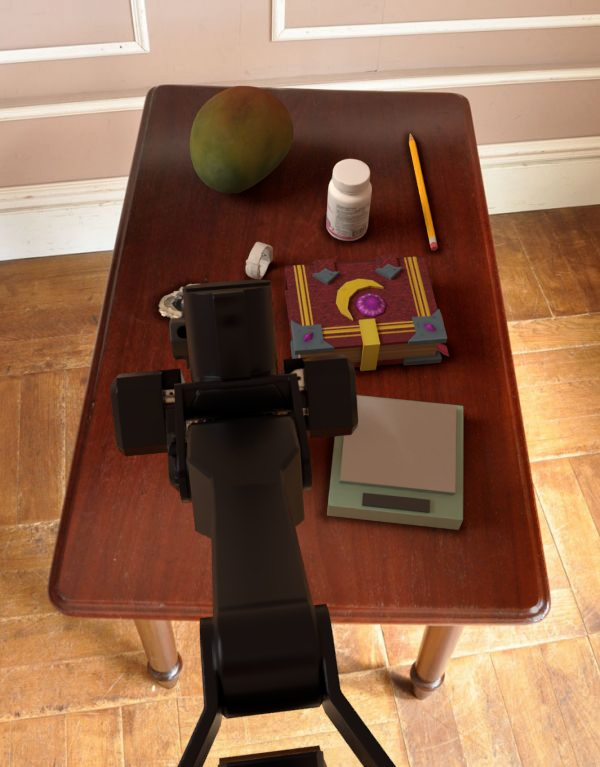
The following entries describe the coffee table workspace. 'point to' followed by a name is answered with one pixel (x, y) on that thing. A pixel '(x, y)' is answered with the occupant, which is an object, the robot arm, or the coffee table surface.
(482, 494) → the coffee table surface
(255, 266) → the smartwatch
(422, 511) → the scale
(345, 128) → the coffee table surface
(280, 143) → the fruit
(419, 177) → the pencil
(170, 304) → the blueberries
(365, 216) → the pill bottle
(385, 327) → the decorative book
